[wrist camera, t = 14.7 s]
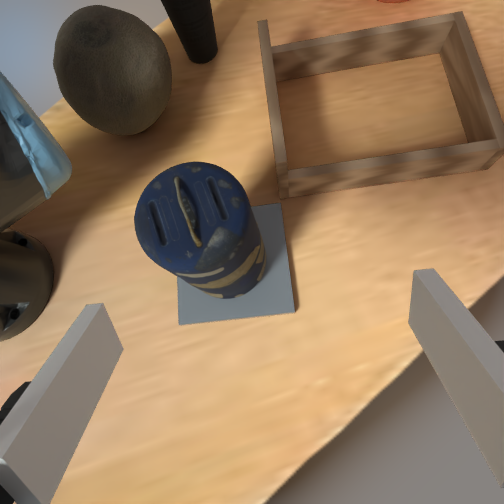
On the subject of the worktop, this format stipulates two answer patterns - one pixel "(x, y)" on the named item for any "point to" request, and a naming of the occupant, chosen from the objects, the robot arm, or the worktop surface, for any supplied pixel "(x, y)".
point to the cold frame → (375, 52)
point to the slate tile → (261, 296)
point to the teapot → (393, 1)
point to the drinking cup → (194, 27)
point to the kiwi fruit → (112, 69)
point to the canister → (202, 229)
